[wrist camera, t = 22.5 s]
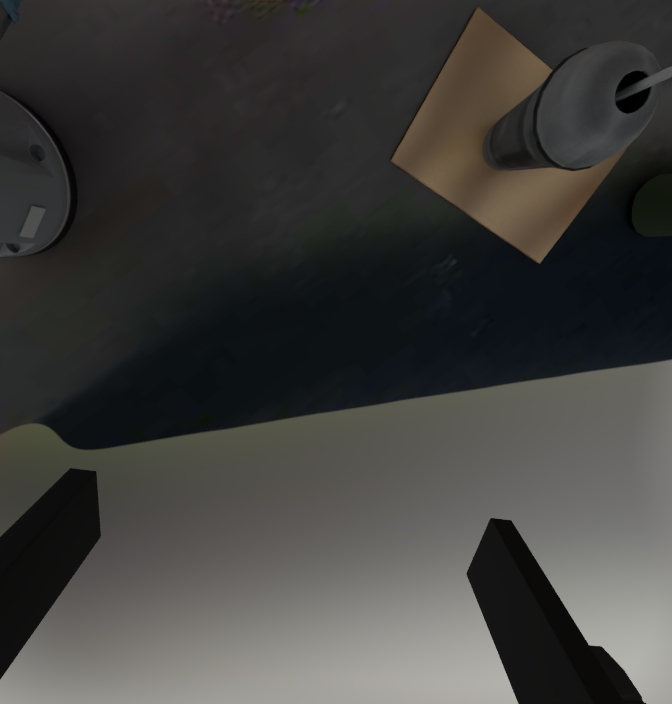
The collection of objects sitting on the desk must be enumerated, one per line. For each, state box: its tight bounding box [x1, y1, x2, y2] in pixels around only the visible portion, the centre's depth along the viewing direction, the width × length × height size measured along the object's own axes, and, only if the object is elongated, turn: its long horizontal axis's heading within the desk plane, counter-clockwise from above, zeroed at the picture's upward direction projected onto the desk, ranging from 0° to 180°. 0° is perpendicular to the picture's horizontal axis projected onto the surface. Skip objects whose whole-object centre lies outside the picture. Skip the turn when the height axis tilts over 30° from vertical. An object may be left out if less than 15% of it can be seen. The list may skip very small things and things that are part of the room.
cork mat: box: [390, 7, 632, 264], centre depth 35 cm, size 20×14×1 cm
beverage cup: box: [483, 41, 672, 171], centre depth 25 cm, size 7×7×20 cm
